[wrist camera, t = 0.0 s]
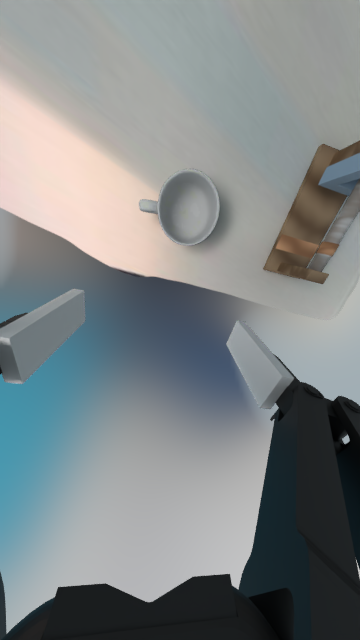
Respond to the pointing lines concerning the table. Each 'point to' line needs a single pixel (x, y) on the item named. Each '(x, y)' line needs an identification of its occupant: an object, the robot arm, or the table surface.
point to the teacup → (186, 207)
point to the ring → (342, 175)
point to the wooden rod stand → (315, 221)
